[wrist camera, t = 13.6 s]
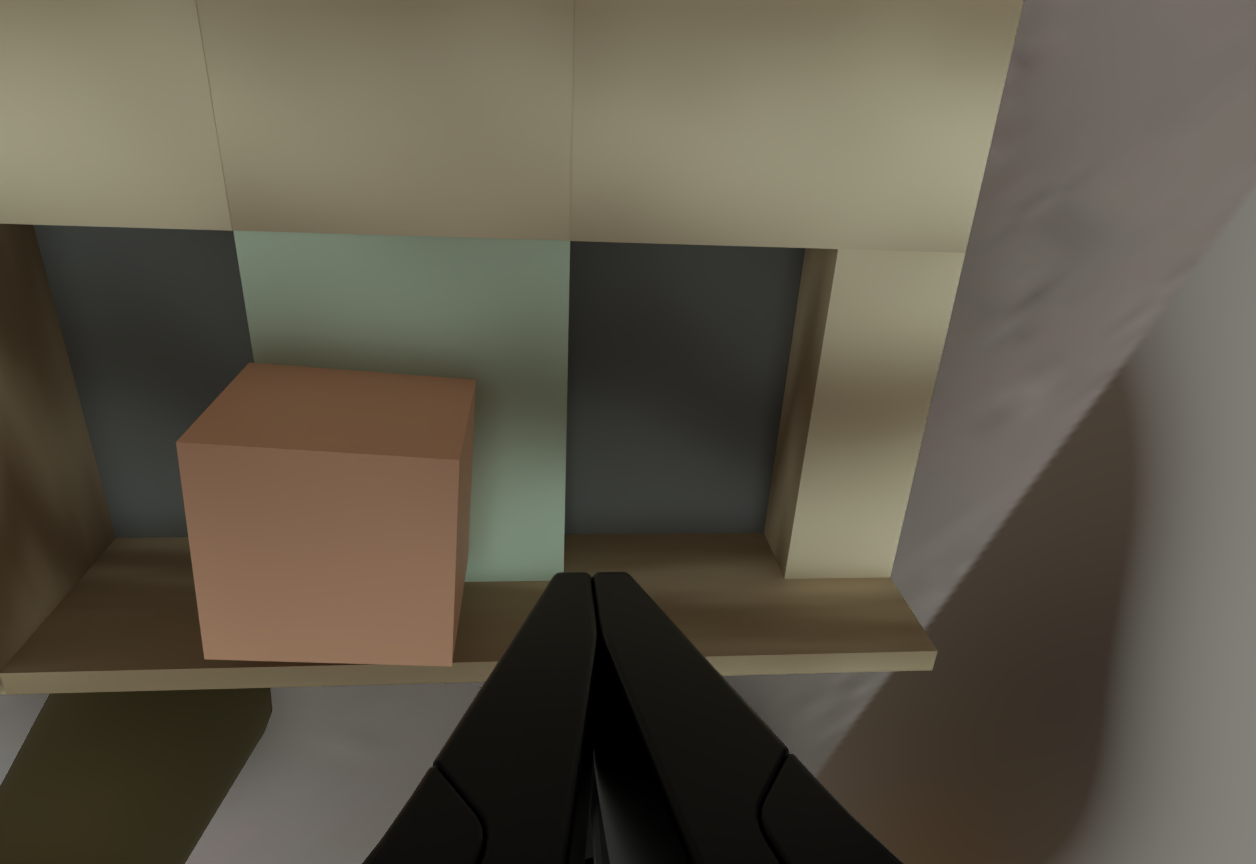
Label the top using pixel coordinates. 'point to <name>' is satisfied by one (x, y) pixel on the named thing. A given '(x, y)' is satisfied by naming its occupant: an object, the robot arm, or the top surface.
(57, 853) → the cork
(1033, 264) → the top surface
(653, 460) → the tray
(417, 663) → the block
